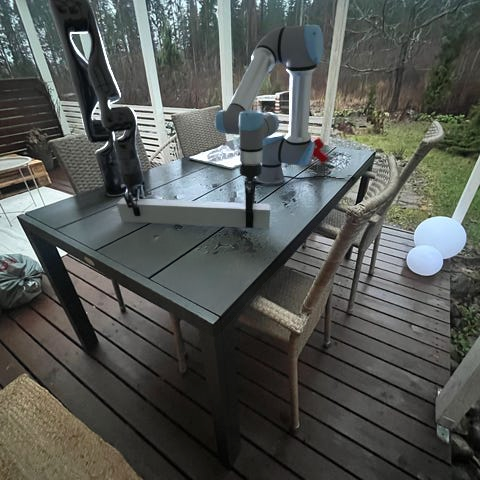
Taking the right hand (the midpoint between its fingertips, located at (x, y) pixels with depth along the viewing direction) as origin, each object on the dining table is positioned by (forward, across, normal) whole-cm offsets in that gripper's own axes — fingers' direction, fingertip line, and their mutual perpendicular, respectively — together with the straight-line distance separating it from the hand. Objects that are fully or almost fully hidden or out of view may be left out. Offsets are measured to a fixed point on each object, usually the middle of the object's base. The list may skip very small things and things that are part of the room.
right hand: (250, 223), depth 102 cm
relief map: (+2, -88, -25) cm, 91 cm away
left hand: (-3, 0, -43) cm, 43 cm away
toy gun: (+3, -85, +31) cm, 91 cm away
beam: (0, 0, -21) cm, 21 cm away
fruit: (+3, -124, +32) cm, 128 cm away
